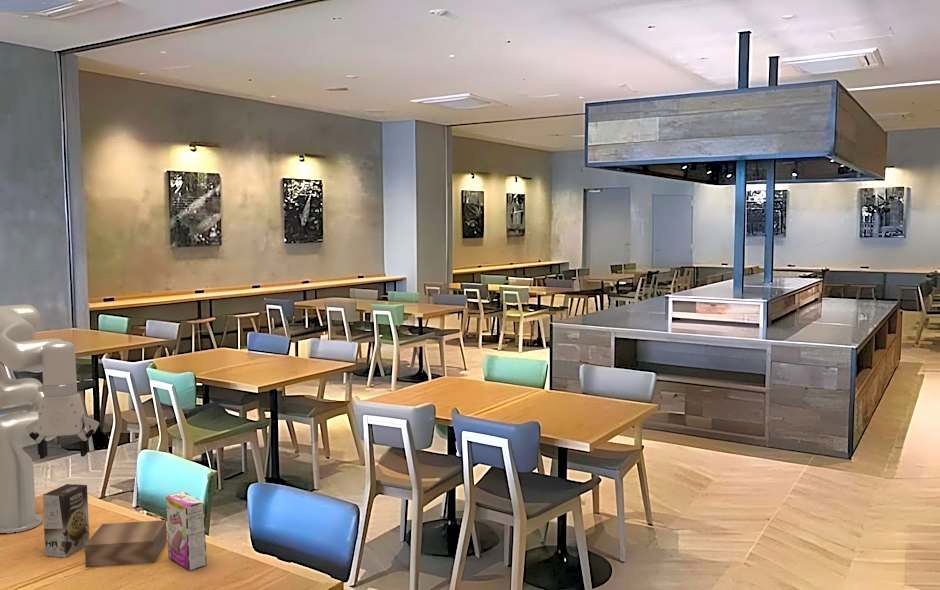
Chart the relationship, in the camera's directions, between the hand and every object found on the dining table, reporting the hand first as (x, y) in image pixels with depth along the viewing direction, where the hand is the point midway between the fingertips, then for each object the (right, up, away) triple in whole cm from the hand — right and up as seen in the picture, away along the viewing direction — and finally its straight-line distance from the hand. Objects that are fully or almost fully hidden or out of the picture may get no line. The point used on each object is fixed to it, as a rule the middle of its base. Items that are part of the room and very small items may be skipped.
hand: (64, 456), depth 197 cm
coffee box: (0, -25, +2) cm, 25 cm away
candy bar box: (+33, -26, -5) cm, 42 cm away
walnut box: (+16, -25, 0) cm, 30 cm away
